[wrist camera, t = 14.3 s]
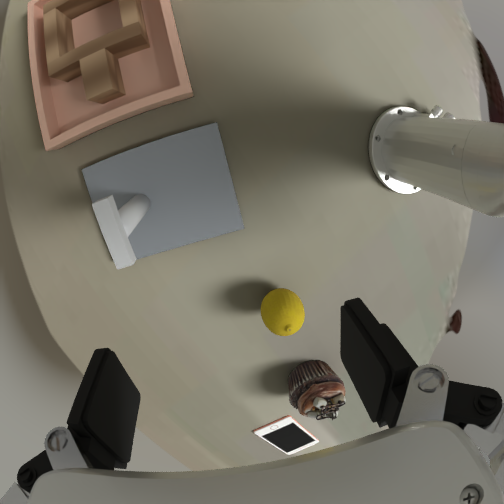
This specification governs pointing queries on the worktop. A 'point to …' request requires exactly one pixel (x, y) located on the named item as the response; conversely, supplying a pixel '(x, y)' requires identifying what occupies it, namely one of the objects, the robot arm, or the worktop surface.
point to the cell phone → (286, 435)
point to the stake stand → (164, 195)
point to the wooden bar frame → (92, 46)
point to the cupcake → (316, 390)
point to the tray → (132, 69)
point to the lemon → (282, 312)
